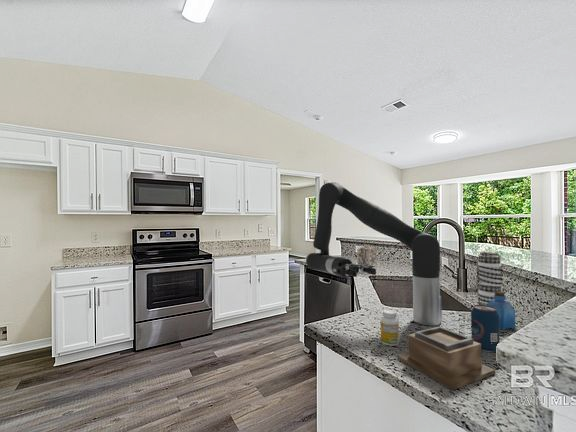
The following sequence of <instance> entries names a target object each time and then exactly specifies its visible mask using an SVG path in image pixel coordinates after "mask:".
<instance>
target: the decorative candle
mask: <svg viewBox="0 0 576 432" xmlns="http://www.w3.org/2000/svg"><path fill="white" fill-rule="evenodd" d="M477 256H478V261H477V265H478V266H477V267H476V275H477V277H476V278H477V280H476V282H477V284H478V293H477V296H478V297H477V300H478V301H477V305H486V306H487V304H488V303H489V302H490V301H491V300H495V298H494V294H495V292H494V291H501V292H502V286H503V282H501V281H503V280H504V278H503V276H504V275H503V273H501V272H504V269H503V268H504V266H503V265H502V263H501V262H502V261H501V255H500V254H499V253H498V252H497V251H493V250H492V251H487V250H483V251H480V252H479V254H477Z"/></svg>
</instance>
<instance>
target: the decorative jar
mask: <svg viewBox="0 0 576 432" xmlns="http://www.w3.org/2000/svg"><path fill="white" fill-rule="evenodd" d="M377 252H378V251H377V249H376V248H375V247H374V246H371V245H370V244H364V246H361V247H359V248H358V250H357V264H364V265H369V266H376V267H377V266H378V255H377Z"/></svg>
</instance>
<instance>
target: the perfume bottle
mask: <svg viewBox="0 0 576 432" xmlns="http://www.w3.org/2000/svg"><path fill="white" fill-rule="evenodd" d="M494 292H495V294H494V298H495V300H491V301H490V302H489V303H488V304H487V306H491V307H494V308H496V311H497V313H498V315H499V329H501V330H508V329H513V328H516V309H515V308H514V307H513V305H512V303H510V301H506V299H507V297H506V292H505V291H502V290H501V291H494Z"/></svg>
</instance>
